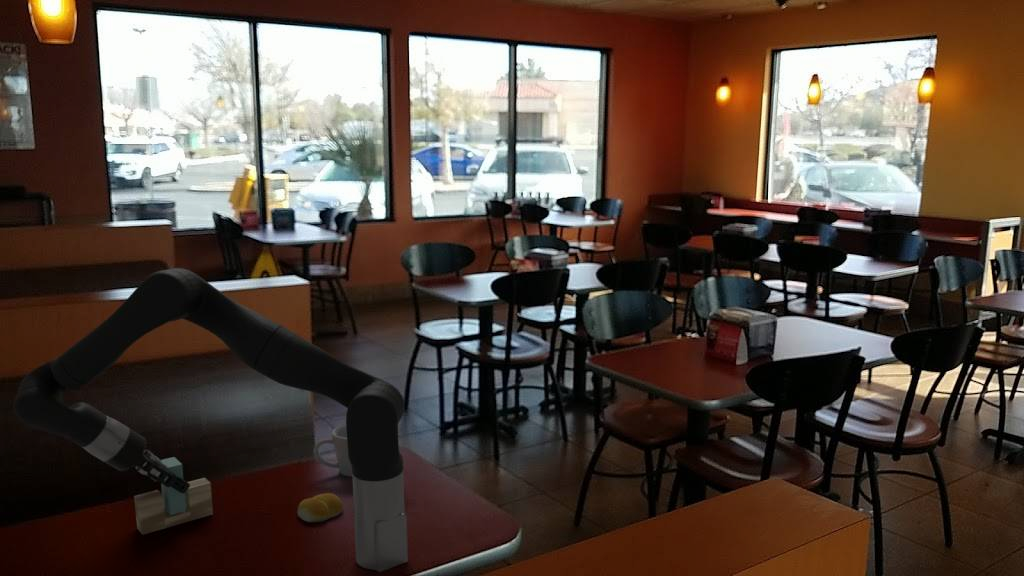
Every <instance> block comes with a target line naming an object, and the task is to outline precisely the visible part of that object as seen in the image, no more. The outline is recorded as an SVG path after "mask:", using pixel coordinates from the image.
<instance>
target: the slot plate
mask: <svg viewBox="0 0 1024 576" xmlns="http://www.w3.org/2000/svg"><path fill="white" fill-rule="evenodd" d="M187 482H188V483H189V484H190V487H189V488H188V489H187V491H186V492H185V505H186V511H183V512H179V513H176V514H172V515H170V514H169V512H168V511H167V510H165V508H164V502H163V495H162V492H160V491H159V489H156V490H153V491H148V492H145V493H142V494H141V493H140V494H137V495H134V496H133V497H134V507H135V508H134V509H135V519H136V527H137V528H136V529H137V530H138V532H139V533H140V534H141V535H147V534H149V533H153V532H157V531H161V530H163V529H168V528H171V527H174V526H178V525H181V524H185V523H188V522H192V521H195V520H198V519H202V518H206V517H209V516H212V515H214V513H213V512H214V510H213V499H212V498H213V497H212V485H211V484H212V483H211V481H210V480H208V479H207V478H206V477H202V478H199V479H198V478H197V479H194V480H191V481H187Z"/></svg>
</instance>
